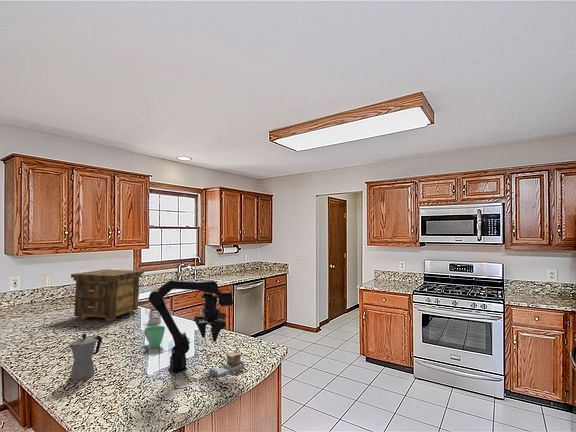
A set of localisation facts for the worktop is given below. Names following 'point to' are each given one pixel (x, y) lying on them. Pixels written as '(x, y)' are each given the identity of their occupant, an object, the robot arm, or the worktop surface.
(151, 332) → the green cup
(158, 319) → the french press
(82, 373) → the coffeepot
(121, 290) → the wooden drawer cabinet
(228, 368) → the bracket
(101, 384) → the worktop surface
